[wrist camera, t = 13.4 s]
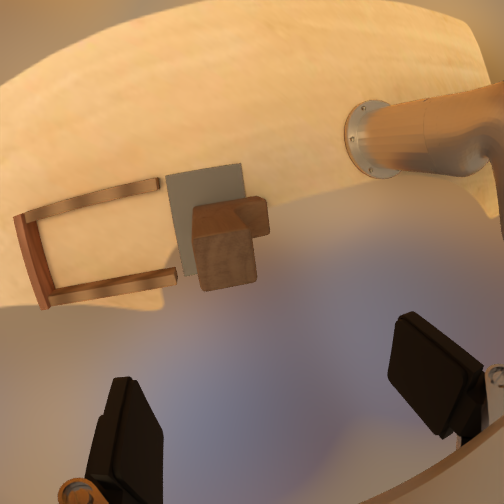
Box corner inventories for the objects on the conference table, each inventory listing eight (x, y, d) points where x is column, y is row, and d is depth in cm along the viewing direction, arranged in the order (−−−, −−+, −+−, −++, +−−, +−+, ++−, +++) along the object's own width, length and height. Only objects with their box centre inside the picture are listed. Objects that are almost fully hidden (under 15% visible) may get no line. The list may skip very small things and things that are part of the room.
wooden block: (258, 195, 39) (308, 217, 22) (262, 227, 41) (312, 272, 24) (192, 206, 38) (190, 238, 21) (197, 239, 39) (201, 294, 22)
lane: (158, 177, 36) (154, 178, 33) (177, 276, 41) (176, 287, 37) (26, 212, 33) (13, 216, 29) (51, 299, 37) (40, 310, 34)
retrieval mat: (240, 163, 38) (240, 163, 38) (253, 262, 42) (254, 263, 42) (165, 175, 36) (165, 175, 36) (184, 275, 41) (184, 276, 40)
